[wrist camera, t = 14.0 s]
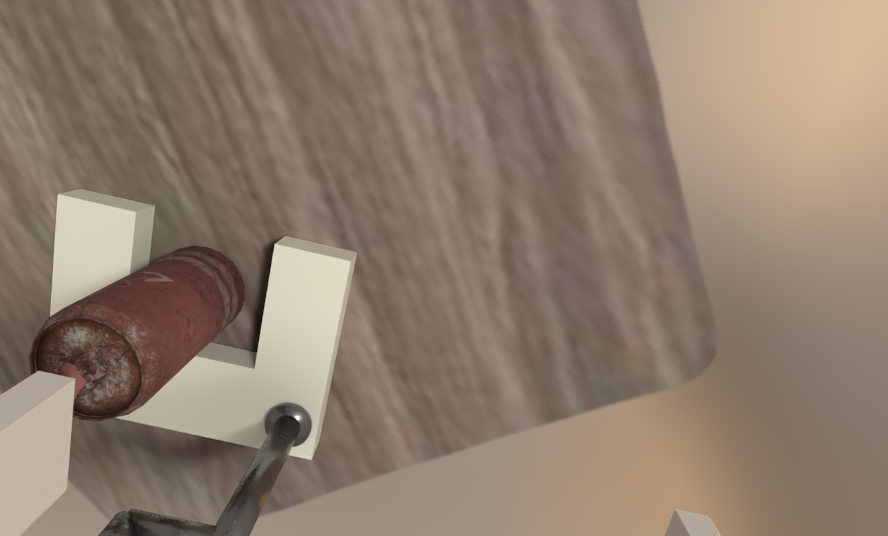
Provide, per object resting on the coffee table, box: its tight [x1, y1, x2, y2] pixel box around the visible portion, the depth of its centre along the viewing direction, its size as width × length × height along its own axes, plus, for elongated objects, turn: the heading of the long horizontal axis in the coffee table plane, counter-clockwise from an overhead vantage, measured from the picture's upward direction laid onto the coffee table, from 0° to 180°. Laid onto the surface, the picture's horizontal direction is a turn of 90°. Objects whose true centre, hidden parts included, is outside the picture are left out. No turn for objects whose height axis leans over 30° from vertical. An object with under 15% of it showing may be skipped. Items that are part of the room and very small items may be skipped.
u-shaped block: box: [50, 189, 357, 460], centre depth 41 cm, size 15×19×2 cm
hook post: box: [99, 402, 312, 536], centre depth 35 cm, size 3×7×14 cm, turn 77°
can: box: [29, 246, 244, 421], centre depth 35 cm, size 6×6×14 cm
